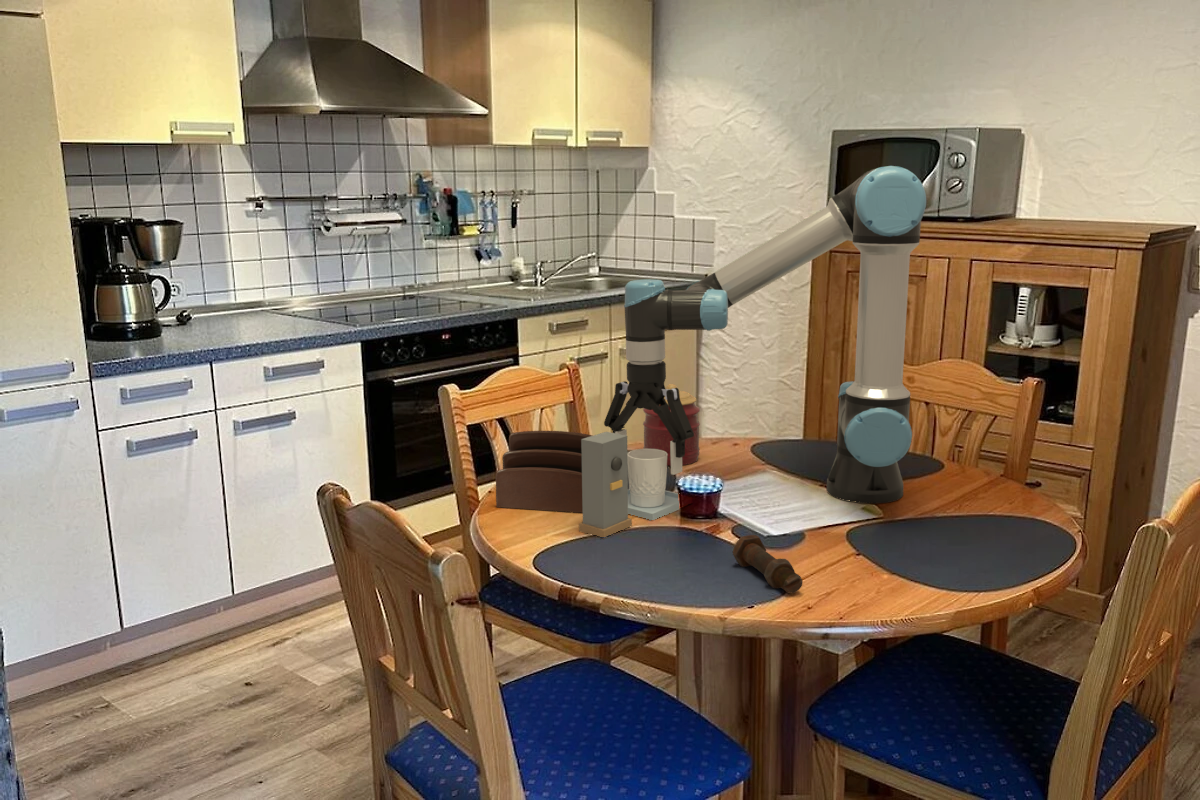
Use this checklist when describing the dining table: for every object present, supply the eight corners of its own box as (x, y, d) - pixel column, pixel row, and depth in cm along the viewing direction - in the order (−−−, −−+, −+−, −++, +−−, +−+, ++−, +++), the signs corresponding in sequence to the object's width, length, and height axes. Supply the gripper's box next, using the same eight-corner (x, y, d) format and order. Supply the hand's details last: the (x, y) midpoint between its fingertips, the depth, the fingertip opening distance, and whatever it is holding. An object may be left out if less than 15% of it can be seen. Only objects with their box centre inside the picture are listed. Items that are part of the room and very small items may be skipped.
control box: (632, 526, 185) (631, 435, 182) (604, 538, 180) (603, 444, 176) (607, 519, 189) (606, 430, 186) (579, 531, 183) (577, 439, 180)
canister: (662, 448, 239) (662, 376, 235) (709, 456, 231) (710, 382, 228) (632, 461, 228) (631, 385, 225) (680, 470, 221) (681, 392, 217)
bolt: (789, 608, 154) (741, 570, 168) (814, 588, 155) (765, 553, 169) (774, 581, 152) (727, 545, 166) (800, 561, 153) (751, 527, 166)
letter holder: (511, 493, 207) (509, 427, 204) (604, 499, 202) (603, 432, 199) (495, 508, 197) (493, 439, 194) (592, 515, 193) (591, 444, 190)
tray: (692, 503, 198) (692, 496, 198) (652, 520, 188) (652, 513, 188) (640, 490, 207) (640, 484, 206) (599, 507, 197) (599, 500, 197)
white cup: (624, 508, 194) (624, 458, 192) (630, 495, 202) (630, 447, 200) (665, 509, 193) (665, 459, 191) (669, 497, 200) (669, 449, 198)
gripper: (711, 363, 186) (712, 472, 191) (608, 352, 202) (612, 453, 206) (687, 370, 180) (689, 482, 185) (584, 358, 196) (588, 462, 201)
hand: (648, 467), depth 196 cm, fingers open, 13 cm apart
